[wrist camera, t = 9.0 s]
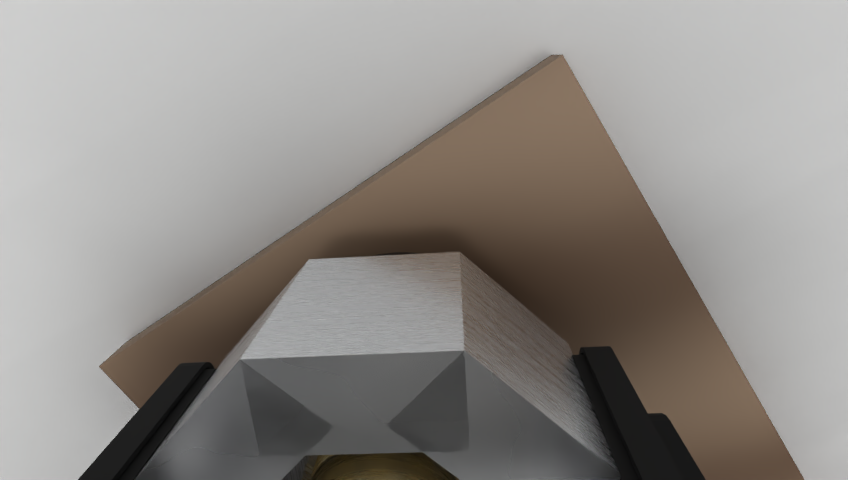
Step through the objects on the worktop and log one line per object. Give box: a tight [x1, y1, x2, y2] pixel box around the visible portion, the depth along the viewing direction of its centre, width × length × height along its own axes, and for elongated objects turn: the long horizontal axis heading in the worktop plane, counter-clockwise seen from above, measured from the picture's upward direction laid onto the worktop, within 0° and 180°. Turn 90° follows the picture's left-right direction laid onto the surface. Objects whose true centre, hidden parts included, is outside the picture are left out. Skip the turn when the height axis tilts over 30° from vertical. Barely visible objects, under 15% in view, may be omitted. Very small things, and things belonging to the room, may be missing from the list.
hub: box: [310, 252, 459, 480], centre depth 10 cm, size 6×6×6 cm
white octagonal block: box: [135, 252, 620, 480], centre depth 9 cm, size 7×7×4 cm
